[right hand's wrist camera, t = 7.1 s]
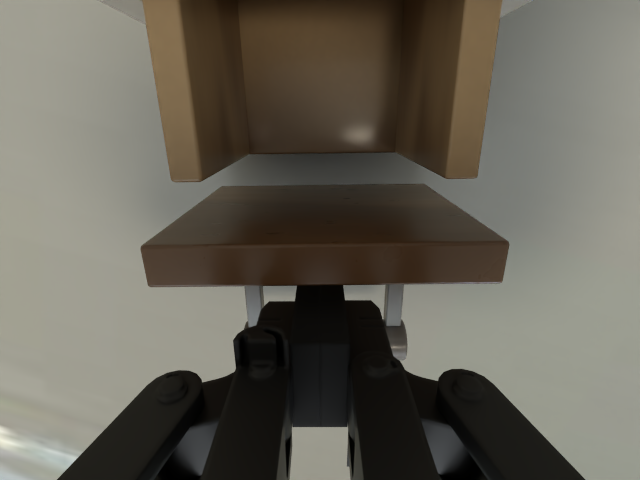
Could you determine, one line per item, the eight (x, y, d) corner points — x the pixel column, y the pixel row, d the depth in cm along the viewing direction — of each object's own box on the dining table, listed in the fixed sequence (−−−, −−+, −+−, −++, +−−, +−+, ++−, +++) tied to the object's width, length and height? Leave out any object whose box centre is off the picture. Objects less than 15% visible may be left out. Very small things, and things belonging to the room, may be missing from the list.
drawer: (413, 309, 18) (474, 438, 11) (234, 311, 18) (178, 440, 11) (466, -267, 11) (746, -996, 4) (170, -261, 11) (-113, -962, 4)
